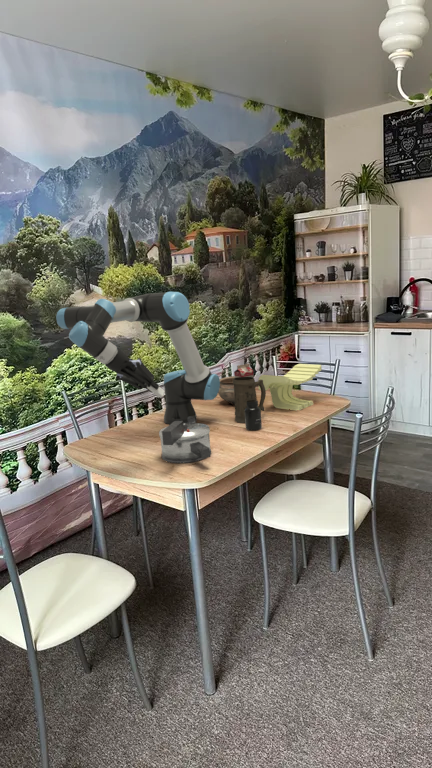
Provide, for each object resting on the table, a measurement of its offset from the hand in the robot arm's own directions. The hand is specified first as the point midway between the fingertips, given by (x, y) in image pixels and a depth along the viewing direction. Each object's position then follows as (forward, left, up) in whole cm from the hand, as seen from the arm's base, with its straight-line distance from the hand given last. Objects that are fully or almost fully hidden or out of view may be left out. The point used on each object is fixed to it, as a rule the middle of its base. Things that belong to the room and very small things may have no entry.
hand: (162, 394), depth 194 cm
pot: (+5, +6, -24) cm, 25 cm away
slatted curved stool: (-21, +82, -24) cm, 88 cm away
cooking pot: (-49, +70, -24) cm, 89 cm away
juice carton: (-34, +64, -24) cm, 76 cm away
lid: (+4, +4, -16) cm, 17 cm away
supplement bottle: (-5, +45, -24) cm, 51 cm away
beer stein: (-18, +54, -24) cm, 62 cm away
